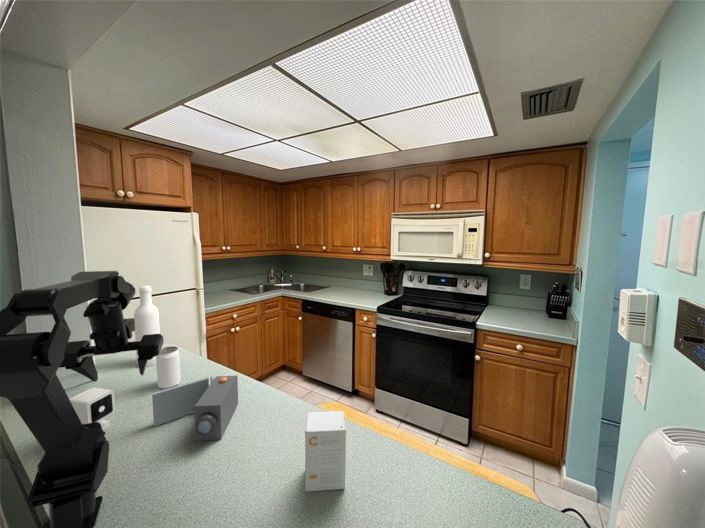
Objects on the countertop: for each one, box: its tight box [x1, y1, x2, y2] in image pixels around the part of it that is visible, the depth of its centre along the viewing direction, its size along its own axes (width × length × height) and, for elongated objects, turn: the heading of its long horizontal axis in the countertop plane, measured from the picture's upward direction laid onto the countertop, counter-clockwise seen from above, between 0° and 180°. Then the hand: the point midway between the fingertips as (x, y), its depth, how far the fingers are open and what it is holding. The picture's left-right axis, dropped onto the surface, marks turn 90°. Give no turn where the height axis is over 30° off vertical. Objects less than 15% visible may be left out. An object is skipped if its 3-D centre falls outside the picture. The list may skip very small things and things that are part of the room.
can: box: [156, 345, 181, 390], centre depth 94 cm, size 6×6×12 cm
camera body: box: [194, 375, 239, 442], centre depth 76 cm, size 17×8×10 cm, turn 6°
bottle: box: [133, 285, 161, 368], centre depth 108 cm, size 8×8×30 cm
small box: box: [304, 410, 347, 493], centre depth 59 cm, size 8×6×13 cm
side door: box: [151, 376, 210, 427], centre depth 78 cm, size 13×2×9 cm, turn 132°
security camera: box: [69, 387, 116, 431], centre depth 71 cm, size 6×7×10 cm
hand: (120, 377), depth 69 cm, fingers open, 9 cm apart
